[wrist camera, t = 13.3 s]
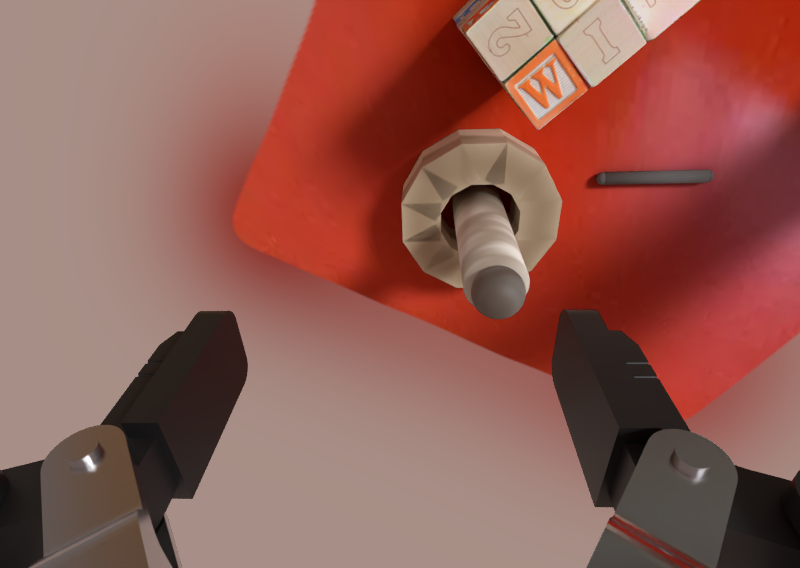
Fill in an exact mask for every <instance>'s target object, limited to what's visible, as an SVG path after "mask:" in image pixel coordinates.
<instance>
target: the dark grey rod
mask: <svg viewBox="0 0 800 568" xmlns="http://www.w3.org/2000/svg"><path fill="white" fill-rule="evenodd" d="M713 178H714V173H713V172H712V171H711V170H674V171H629V172H601V173H599V174H598V175H597V177H596V181H597V183H598V184H600V185H622V184H669V183H708V182H710V181H712V180H713Z"/></svg>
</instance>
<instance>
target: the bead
mask: <svg viewBox="0 0 800 568" xmlns="http://www.w3.org/2000/svg"><path fill="white" fill-rule="evenodd" d="M490 184H493V185H495V186H497V187H499V188H501V189H502V190H504V191H506V192H508V193H510V194H511V195H512V197H511V207H510V211H509V213H508V214H507V217H508V220H509V222H510V225H511V228H512V230H513V233H514V236H515V239H516V241H517V244H518V247H519V250H520V252H521V255H522V258H523V260H524V263H525V266H526V269H527V271H528V272H529V271H531V270H532V269H533V268H534V267H535V265H536V264H537V263H538V262H539V260H540V259H541V258H542V257H543V255H544V254H545V253H546V252H547V250H548V249H549V248H550V247H551V245H552V244H553V243H554V242H555V241H556V238H557V232H558V225H559V219H560V212H561V206H562V199H561V197H560V195H559V193H558V191H557V189H556V187H555V184H554V182H553V180H552V178H551V176H550V174H549V172H548V170H547V168H546V165H545V164H544V162H543V161H542V159H541V158H540V157H539V155H538V154H537V152H536V151H535V149H534V148H532V147H530V146H529V145H527V144H525V143H523V142H522V141H520V140H518V139H517V138H515V137H513V136H511V135H510V134H508V133H506V132H505V131H503V130H501V129H470V130H457V131H455V132H453V133H452V134H450V135H448V136H447V137H445V138H444V139H442V140H440V141H439V142H437V143H435V144H434V145H432V146H430V147H429V148H427V149H425V150H424V151H422V153H421V154H420V156H419V158H418V160H417V162H416V163H415V165H414V167H413V169H412V171H411V172H410V174H409V176H408V178H407V179H406V181H405V183H404V185H403V193H402V203H401V207H402V233H403V243H404V244H405V246H406V247H407V249H408V250H409V251H410V253H411V254H412V256H413V257H414V259H415V260H416V262H417V263H418V265H419V266H420V267H421V269H422V270H423V272H425V273H427V274H429V275H431V276H433V277H435V278H438V279H440V280H442V281H444V282H446V283H448V284H450V285H452V286H454V287H456V288H463V283H462V275H461V268H460V260H459V253H458V245H457V238H456V230H455V229H453V228H451V227H449V226H448V225H447V223H446V222H445V220H444V218H443V217H442V215H441V212H442V211H443V209H444V207H445V206H446V204H447V203H448V201H449V199H450V198H451V196H452V195H454V194H456V193H457V192H459V191H461V190H463V189H465V188H466V187H468V186H470V185H490Z"/></svg>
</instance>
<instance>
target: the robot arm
mask: <svg viewBox="0 0 800 568" xmlns="http://www.w3.org/2000/svg"><path fill="white" fill-rule="evenodd" d="M247 369H248V363H247V357H246V354H245V350H244V346H243V342H242V339H241V335H240V332H239V328H238V325H237V321H236V318H235V315H234V314H233V312H231V311H200V312H198V313H197V314H196V315H195V317H194V318H193V319H192V321H191V322H190V324H189V325H188V327H187V328H186V330H185V331H183V332H182V331H178V332H176V333H175V334H174V335H172V336H171V337H170V338H168V339H167V340H166V341H164V342H163V343H162V344H160V345H159V346H158V348H157V349H156V351H155V352H154V353H153V354H152V356H151V358H150V359H149V360H148V364H145V365H144V367H143V368H142V369H141V371H140V372H139V373H138V375H139V376H138V377H135V379H134V380H133V382H132V383H131V384H130V386H129V387H128V388H127V390H126V391H125V392H124V394H123V395H122V396H121V398H120V399H119V401H118V402H117V403H116V405H115V406H114V407H113V409H112V410H111V411H110V413H109V414H108V415H107V417H106V418H105V419H104V421H103V422H102V423H101V425H98V426H93V427H89V428H86V429H84V430H81V431H79V432H76V433H74V434H73V435H71V436H69V437H68V438H66V439H64V440H63V441H62V442H60V443H59V444H58V445H57V446H56V447H55V448H54V449H53V450H52V451H51V452H50V453H49V454H48V456H47V457H46V458H45V460H41V461H37V462H33V463H30V464H26V465H21V466H17V467H13V468H9V469H5V470H0V568H182V565H181V561H180V558H179V554H178V551H177V548H176V544H175V541H174V537H173V534H172V530H171V527H170V523H169V519H168V517H167V515H166V513H165V512H166V510H167V507H168V505H169V503H170V501H171V499H172V498H178V499H192V498H193V496H194V494H195V492H196V490H197V488H198V486H199V483H200V481H201V479H202V477H203V474H204V472H205V470H206V468H207V466H208V463H209V461H210V459H211V457H212V454H213V452H214V450H215V448H216V446H217V444H218V441H219V439H220V437H221V435H222V432H223V430H224V428H225V426H226V424H227V421H228V419H229V417H230V415H231V413H232V410H233V408H234V406H235V404H236V401H237V399H238V397H239V395H240V393H241V391H242V388H243V386H244V384H245V381H246V377H247ZM552 376H553V381H554V385H555V389H556V391H557V395H558V398H559V401H560V404H561V407H562V410H563V413H564V416H565V419H566V422H567V425H568V428H569V431H570V434H571V437H572V440H573V443H574V446H575V449H576V452H577V455H578V458H579V461H580V464H581V467H582V470H583V473H584V476H585V479H586V482H587V485H588V488H589V491H590V494H591V497H592V500H593V503H594V506H595V507H614V510H615V513H614V515H613V517H611V518H610V519H609V521H608V523H607V525H606V527H605V529H604V531H603V533H602V535H601V538H600V540H599V542H598V544H597V546H596V548H595V551H594V553H593V555H592V557H591V559H590V561H589V563H588V565H587V568H800V471H798V473H797V474H796V476H795V477H794V479H793V480H792V481H790V480H786V479H782V478H779V477H775V476H771V475H767V474H763V473H759V472H756V471H751V470H748V469H745V468H742V467H738V466H736V465H734V463H733V462H732V460H731V459H730V458H729V456H728V455H727V454H726V453H725V452H724V451H723V450H722V449H721V448H720V447H718V446H717V445H716V444H714V443H713V442H711V441H710V440H708V439H707V438H704V437H703V436H700V435H698V434H696V433H693V432H690V430H689V428H688V426H687V425H686V423H685V421H684V420H683V418H682V416H681V415H680V413H679V411H678V410H677V408H676V406H675V405H674V403H673V401H672V400H671V398H670V397H669V395H668V393H667V392H666V390H665V388H664V387H663V385H662V383H661V382H660V380H659V379H657V375H656V373H655V372H654V370H653V368H652V367H651V365H648V360H647V359H646V357H645V355H644V354H643V352H642V350H641V349H640V347H639V345H638V344H637V343H635V342H634V341H633V340H632V339H630V338H629V337H628V336H627V335H625V334H624V333H623V332H622V331H609V330H608V328H607V326H606V325H605V323H604V321H603V319H602V317H601V315H600V314H599V312H598V311H597V310H595V309H587V310H563V311H562V312H561V314H560V318H559V324H558V329H557V335H556V341H555V346H554V352H553V358H552Z"/></svg>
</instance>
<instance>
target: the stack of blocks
mask: <svg viewBox="0 0 800 568" xmlns="http://www.w3.org/2000/svg"><path fill="white" fill-rule="evenodd" d="M699 1H700V0H469V1H468V2H467V3H466V4H465V5H464V6H463V7H462V8H461V9H460V10H459V11H458V12H457V13H456V14H455V15H454V16H453V17H452V19H453V20H454V21H455V23H456V24H457V28H458V29H459V30H460V32H461V33H462V34H463V35H464V37H465V38H466V39H467V41H468V42H469V43H470V45H471V46H472V47H473V49H474V50H475V51H476V52H477V54H478V55H479V56H480V58H481V59H482V61H483V62H484V63H485V65H486V66H487V67H488V69H489V70H490V71H491V73H492V74H493V76H494V77H495V78H496V79H497V81H498V82H499V83H500V85H501V86H502V87H503V88H504V90H505V91H506V92H507V93H508V95H509V96H510V97H511V98H512V100H513V101H514V102H515V104H516V105H517V106H518V108H519V109H520V110H521V111H522V113H523V114H524V115H525V116H527V118H528V119H529V120H530V121H531V123H532V124H533V125H534V126H535V128H536V129H537V130H539V129H541V128H542V127H543V126H544V125H546V124H547V123H548V122H549V121H551V120H552V119H553V118H554V117H555V116H557V115H558V114H559V113H560V112H562V111H563V110H564V109H565V108H566V107H568V106H569V105H570V104H572V103H573V102H574V101H575V100H576V99H578V98H579V97H580V96H581V95H583V94H584V93H585V92H586V91H587V90H588V88H591V87H594V86H596V85H598V84H599V83H600V82H601V81H602V80H603V79H605V78H606V77H607V76H608V75H610V74H611V73H612V72H613V71H614V70H615V69H617V68H618V67H619V66H620V65H621V64H623V63H624V62H625V61H626V60H628V59H629V58H630V57H631V56H632V55H633V54H635V53H636V52H637V51H638V50H639V49H641V48H642V47H643V46H644V45H645V44H646V41H651V40H653V39H655V38H656V37H657V36H658V35H659V34H661V33H662V32H663V31H665V30H666V29H667V28H668V27H669V26H670V25H671V24H673V23H674V22H675V21H676V20H677V19H679V18H680V17H681V16H682V15H683V14H685V13H686V12H687V11H688V10H689V9H691V8H692V7H693V6H694V5H695V4H697V3H698V2H699Z"/></svg>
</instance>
